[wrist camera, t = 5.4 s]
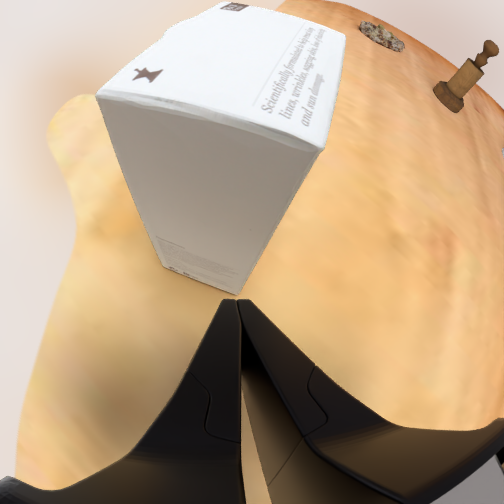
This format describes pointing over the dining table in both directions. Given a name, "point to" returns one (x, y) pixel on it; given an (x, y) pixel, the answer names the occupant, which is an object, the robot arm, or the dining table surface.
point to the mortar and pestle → (464, 78)
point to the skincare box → (222, 132)
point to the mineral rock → (381, 36)
